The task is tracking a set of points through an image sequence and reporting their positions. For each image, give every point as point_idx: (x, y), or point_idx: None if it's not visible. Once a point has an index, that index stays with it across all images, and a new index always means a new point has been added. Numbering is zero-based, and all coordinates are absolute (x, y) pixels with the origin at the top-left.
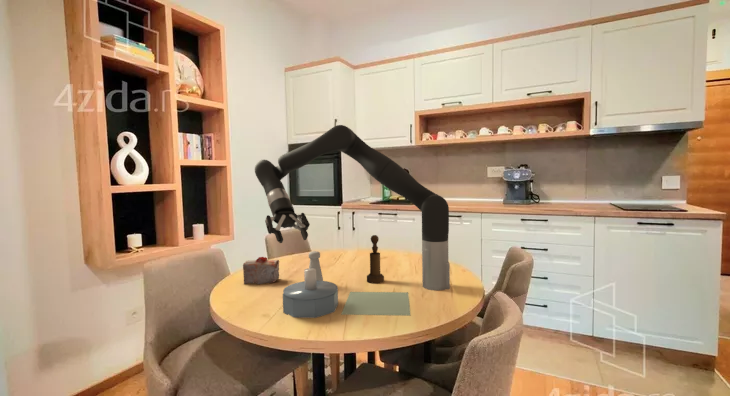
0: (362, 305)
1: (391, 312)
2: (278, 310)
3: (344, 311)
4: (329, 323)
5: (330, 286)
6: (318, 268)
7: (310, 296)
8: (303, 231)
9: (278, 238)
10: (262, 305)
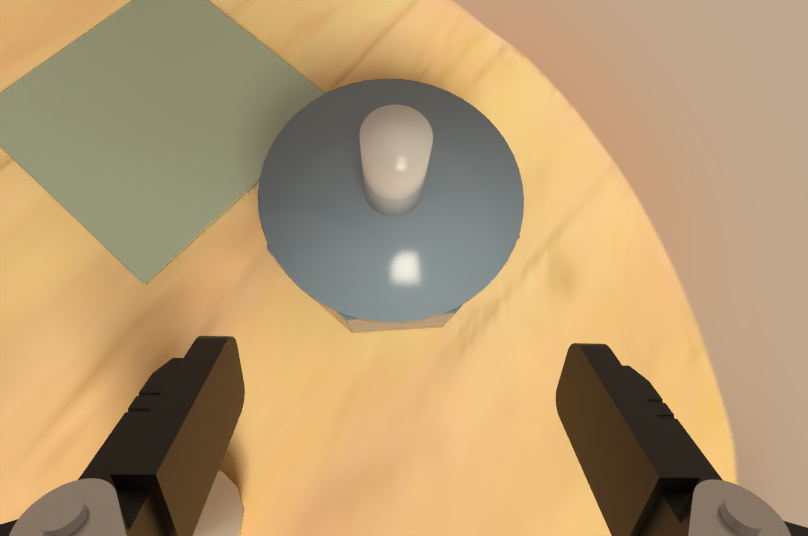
0: (224, 121)
1: (197, 19)
2: (506, 293)
3: None
4: None
5: (302, 155)
6: None
7: (444, 101)
8: (194, 406)
9: (640, 376)
10: (547, 395)
